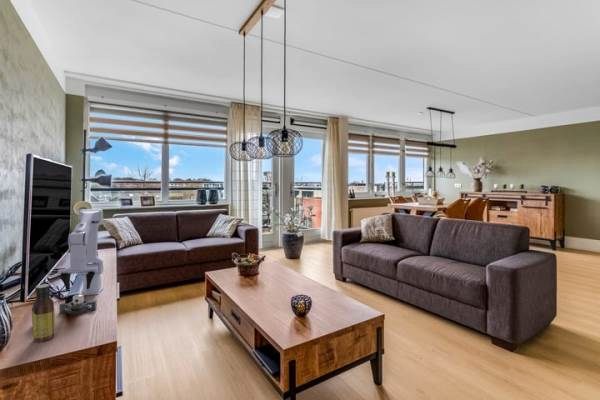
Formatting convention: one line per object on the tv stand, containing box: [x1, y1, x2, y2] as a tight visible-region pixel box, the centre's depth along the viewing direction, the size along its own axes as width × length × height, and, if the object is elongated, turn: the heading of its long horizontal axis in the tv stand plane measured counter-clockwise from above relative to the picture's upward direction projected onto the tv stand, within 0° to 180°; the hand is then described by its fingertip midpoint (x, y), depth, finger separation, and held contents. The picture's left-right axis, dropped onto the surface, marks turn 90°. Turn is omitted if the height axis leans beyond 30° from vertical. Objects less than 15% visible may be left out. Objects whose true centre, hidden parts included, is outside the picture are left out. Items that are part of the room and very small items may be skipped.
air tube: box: [72, 293, 85, 311], centre depth 135 cm, size 4×4×7 cm
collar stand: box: [58, 298, 98, 316], centre depth 136 cm, size 8×14×4 cm, turn 109°
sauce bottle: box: [31, 283, 56, 343], centre depth 111 cm, size 7×6×20 cm
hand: (78, 289), depth 136 cm, fingers open, 7 cm apart
